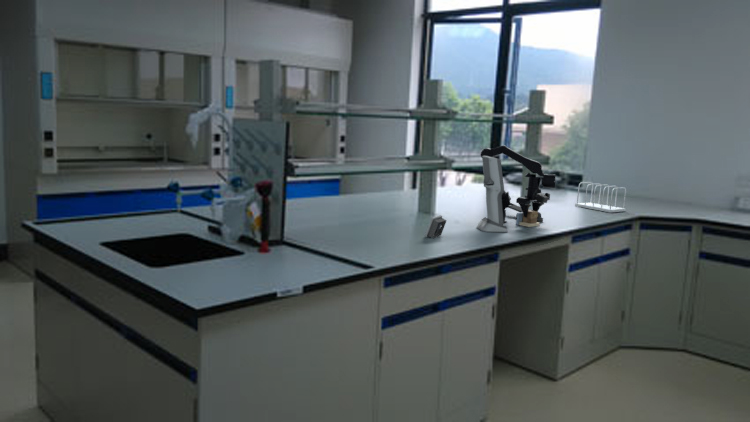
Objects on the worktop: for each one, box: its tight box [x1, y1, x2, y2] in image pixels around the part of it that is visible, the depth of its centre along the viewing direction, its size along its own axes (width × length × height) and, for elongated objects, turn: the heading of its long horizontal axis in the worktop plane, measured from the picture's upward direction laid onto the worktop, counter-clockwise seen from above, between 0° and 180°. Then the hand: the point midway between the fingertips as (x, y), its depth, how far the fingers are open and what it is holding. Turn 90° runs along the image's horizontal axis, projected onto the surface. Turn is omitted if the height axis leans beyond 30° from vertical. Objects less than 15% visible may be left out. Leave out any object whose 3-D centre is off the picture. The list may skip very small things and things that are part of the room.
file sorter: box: [574, 181, 627, 213], centre depth 378 cm, size 25×17×16 cm
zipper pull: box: [507, 202, 544, 224], centre depth 325 cm, size 9×7×25 cm
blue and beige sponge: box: [515, 212, 541, 228], centre depth 306 cm, size 7×11×6 cm, turn 130°
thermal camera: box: [476, 156, 508, 233], centre depth 285 cm, size 12×13×35 cm
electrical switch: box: [424, 215, 447, 239], centre depth 263 cm, size 9×5×9 cm, turn 147°
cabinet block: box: [523, 209, 539, 224], centre depth 305 cm, size 6×5×6 cm
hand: (530, 216), depth 305 cm, fingers open, 7 cm apart
